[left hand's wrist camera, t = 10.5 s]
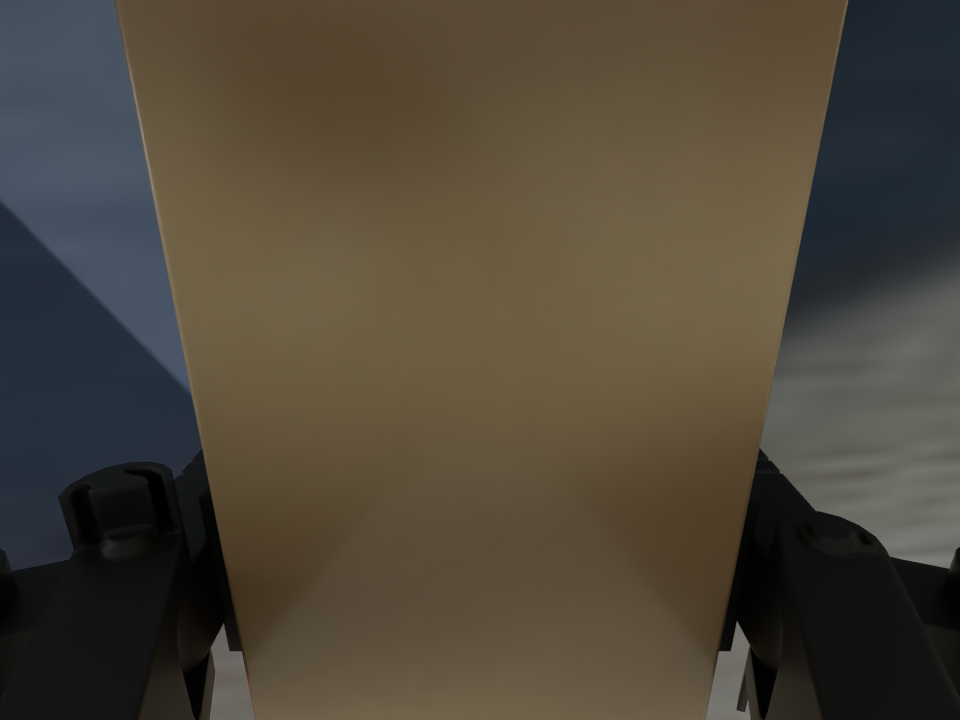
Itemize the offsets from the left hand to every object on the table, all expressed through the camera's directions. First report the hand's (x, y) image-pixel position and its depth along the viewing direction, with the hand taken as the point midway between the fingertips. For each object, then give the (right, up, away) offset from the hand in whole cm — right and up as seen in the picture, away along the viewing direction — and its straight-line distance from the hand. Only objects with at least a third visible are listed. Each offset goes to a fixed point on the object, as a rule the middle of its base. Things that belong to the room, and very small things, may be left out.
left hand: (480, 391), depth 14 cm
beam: (0, +14, -5) cm, 15 cm away
